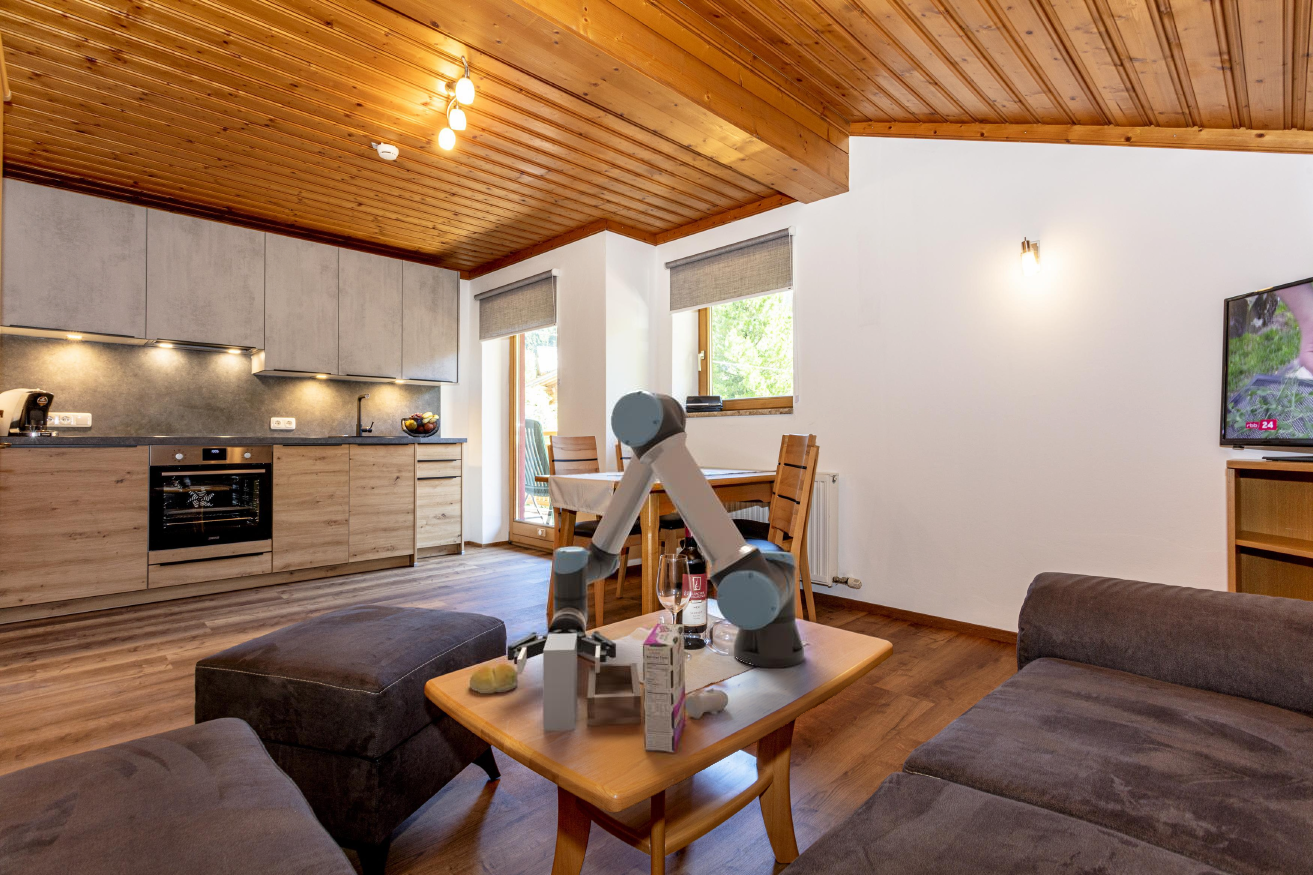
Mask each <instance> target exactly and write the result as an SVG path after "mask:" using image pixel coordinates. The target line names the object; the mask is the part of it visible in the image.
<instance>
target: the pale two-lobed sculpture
mask: <svg viewBox="0 0 1313 875" xmlns="http://www.w3.org/2000/svg"><path fill="white" fill-rule="evenodd" d="M728 703H729V697H728V695H727V693H726V692H725V691H724V690H722V689H714V688H710V689H707V690H704V691H702V692H701V693H700V694H698V693H697V692H695V691H692V692H690V694H689V695H688V696H687V698H685V712H686V713H687V715H689V716H690V717H691V718H693V719H696V720H699V719H700V718H701V717H702V716H703V713H710V714H713V715H714V714H718V712H719V711H723V710H724V709H725V708H727V707H728Z"/></svg>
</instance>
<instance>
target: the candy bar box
mask: <svg viewBox="0 0 1313 875" xmlns="http://www.w3.org/2000/svg"><path fill="white" fill-rule="evenodd" d="M642 663H643V664H642V667H643V668H642V671H643V672H642V673H643V677H642V678H643V722H644V723H643V726H644V727H643V728H644V729H643V730H644V731H643V733H644V737H643V738H644V740H643V741H644V751H647V752H648V751H649V752H657V753H671V754H674V753H675V752H676V749H677V747H678V746H677V745H678V743H679V741H680V737H681V734H682V733H683V729H684V727H685V724H686V722H687V721H686V720H687V719H686V709H685V701H686V680H685V678H686V677H685V676H686V674H685V672H686V671H685V668H686V667H685V624H677V623H659V622H658V623H656V624H655V626H654V628H653V630H651V632H650V633H649V634H648V636H647V637H646V639H645V641H644V642H643V643H642Z"/></svg>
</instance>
